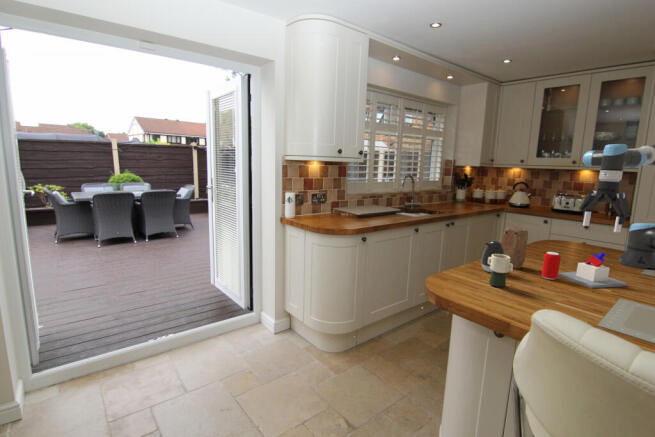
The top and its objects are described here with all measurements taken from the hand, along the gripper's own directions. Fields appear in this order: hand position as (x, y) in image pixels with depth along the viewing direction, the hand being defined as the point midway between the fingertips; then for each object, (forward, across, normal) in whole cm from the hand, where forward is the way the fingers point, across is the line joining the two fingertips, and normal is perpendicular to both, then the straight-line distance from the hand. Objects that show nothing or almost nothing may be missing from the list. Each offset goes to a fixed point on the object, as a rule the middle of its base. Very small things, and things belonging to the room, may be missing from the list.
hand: (600, 228), depth 146 cm
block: (+24, -23, -23) cm, 41 cm away
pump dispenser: (+24, -17, -39) cm, 49 cm away
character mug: (+24, 0, -50) cm, 56 cm away
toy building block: (+17, 0, 0) cm, 17 cm away
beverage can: (+24, -5, -18) cm, 31 cm away
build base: (+24, 0, 0) cm, 24 cm away
